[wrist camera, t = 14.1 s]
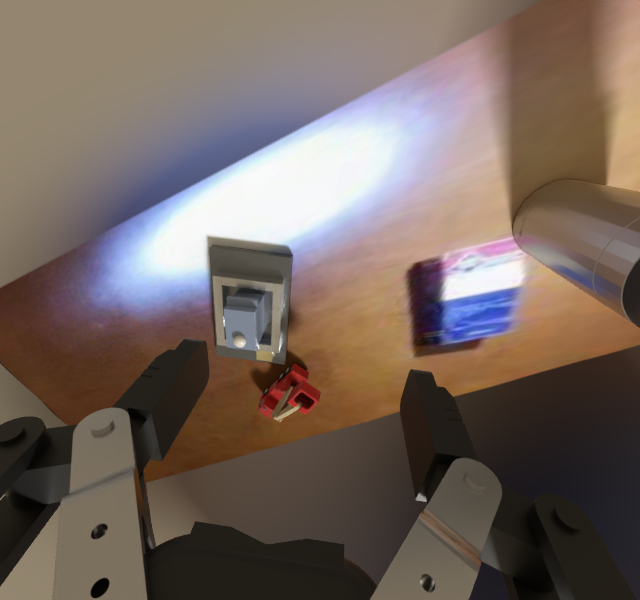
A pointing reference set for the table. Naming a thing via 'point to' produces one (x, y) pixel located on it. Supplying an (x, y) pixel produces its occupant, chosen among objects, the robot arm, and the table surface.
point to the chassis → (257, 278)
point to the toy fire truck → (289, 394)
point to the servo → (244, 320)
